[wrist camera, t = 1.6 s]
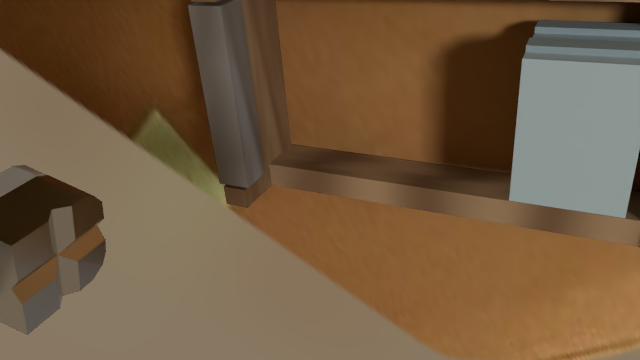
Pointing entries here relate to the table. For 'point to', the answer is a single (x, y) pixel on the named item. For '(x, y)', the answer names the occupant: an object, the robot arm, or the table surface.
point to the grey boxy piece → (578, 117)
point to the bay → (338, 166)
